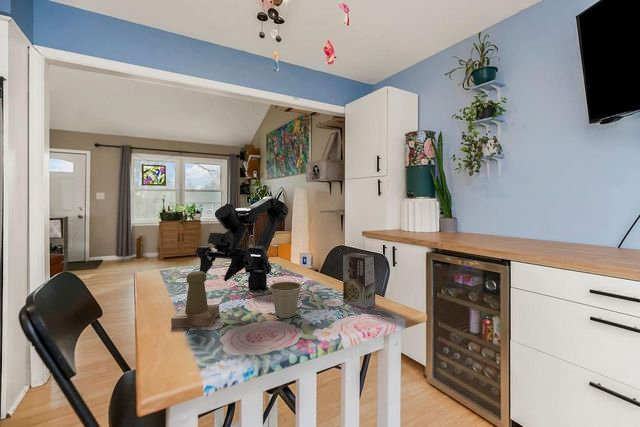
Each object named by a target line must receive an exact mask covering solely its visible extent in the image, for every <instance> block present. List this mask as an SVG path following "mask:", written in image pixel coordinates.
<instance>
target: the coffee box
mask: <svg viewBox="0 0 640 427" xmlns="http://www.w3.org/2000/svg"><path fill="white" fill-rule="evenodd" d="M342 262H343V263H342V283H343V284H342V285H343V286H342V288H343V290H342V295H343V298H342V300H343V301H342V302H343V303H345V304H347V305H352V306H355V307H359V308H362V309H367V308H369V307H371V306H374V305H376V255H374V254H365V253H358V252H351V253H348V254H343V255H342Z"/></svg>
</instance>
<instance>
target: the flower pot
mask: <svg viewBox="0 0 640 427" xmlns="http://www.w3.org/2000/svg"><path fill="white" fill-rule="evenodd" d="M301 288H302V284H301V283H300V282H295V281H281V282H275V283H272V284H270V285H269V289H270V290H271V292H270V293H272V300H273V306H274V311H275V313H274V314H275V316H276V317H279V318H281V319H288V318H292V317H293V316H294V317H295V316H296V315H297V312H298V304H299V297H300V296H299V295H300V292H301Z"/></svg>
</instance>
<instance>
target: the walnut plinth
mask: <svg viewBox="0 0 640 427" xmlns="http://www.w3.org/2000/svg"><path fill="white" fill-rule="evenodd" d="M185 309H186V304H185V305H184V306H182V307H181V309H180V310H178V311H177V312H176V313H175V314H174V315H173V316H172V317H171V320H170V321H171V322H170V323H171V324H170V326H171V327H170V328H173V329H175V328H199V327H201V328H203V327H205V328H206V327H211V326H212V325H213V323H214V322H215V320H216V319H217V317H218V315H219V314H220V304H208V310H207V311H206V312H203V313H199V314H187V313H186V312H185Z"/></svg>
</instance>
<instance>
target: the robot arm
mask: <svg viewBox="0 0 640 427" xmlns="http://www.w3.org/2000/svg"><path fill="white" fill-rule="evenodd" d="M265 212H266V216H267V220H266V222H265V224H264V227H263V229H262V231H261V233H260V236H259V238H258V239H257V243H256V245H255V246H253V247H251V246H250V247H249V248H248V249H245V248H242V247H243V245H242V244H241V243H242V242H243V240H244V238H245V236H250V231H249V227H247V225H249V226H253V225H254V224H255V223H256V222H257V221H258V220H259V216H260V215H262V214H263V213H265ZM288 214H289V207H288V206H287V205H286V204H285V202H282V201H281V200H279V199H277V197H275V196H264V197H262V198H261V199H259V200H258V201H256V202H255V203H252V204H251V205H250V206H244V207H243V206H242V207H239V208H235V207H234V205H233V204H232V203H225V204H224V205H222V206H220V207H219V208H218V209H216V210H215V212H214V216H215V219H217V221H218V223H219V224H220V225H221V227H223V229H225V230H227V231H226V232H224V233H221V232H210V233H209V235H208V239H207V243H208V244H211V245H213V248H214V249H215V250H216V251H213V249H212V248H211V247H210V246H204V245H203V246H198V247H197V248H196V250H195V255H196V256H197V257H198V258H199V259H200V261H199V262H200V264H199V265H200V266H199V271H203V272H205V274H206V275H207V272H209V270H210V269H211V268H212V267H213V265H214V262H215V261H216V259H225V260H230V264H229V267H228V268H227V270H226V272H225V274H224V277H223V281H224V282H227V281H229V280H231V278H232V277H234V276H235V275H236V274H237V273H239V272H240V271H241V270H243V269H244V271H245V273H248V274H249V275H248V277H247V279H248V280H247V281H248V282H247V286H248V287H247V288H248V291H267V289H268V285H269V284H268V275H269V274H270V273H271V272H272V265H271V264H270V262H269V254H268V251H269V249H270V246H271V244H272V240H273V238H274V236H275V234H276V232H277V229H278V227H279V225H280V224H281V223H282V222H284V221H285V220H286V218H287V216H288Z"/></svg>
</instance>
